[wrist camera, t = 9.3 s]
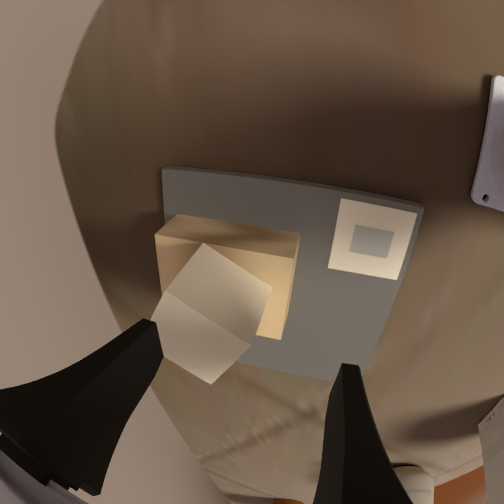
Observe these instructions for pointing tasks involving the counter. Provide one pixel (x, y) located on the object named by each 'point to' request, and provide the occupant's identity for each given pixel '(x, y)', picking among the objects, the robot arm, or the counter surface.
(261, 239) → the oak base brick
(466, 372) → the counter surface
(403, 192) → the counter surface
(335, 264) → the board
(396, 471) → the teacup
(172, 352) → the cream cube
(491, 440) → the small box
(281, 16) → the counter surface
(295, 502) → the disposable coffee cup
